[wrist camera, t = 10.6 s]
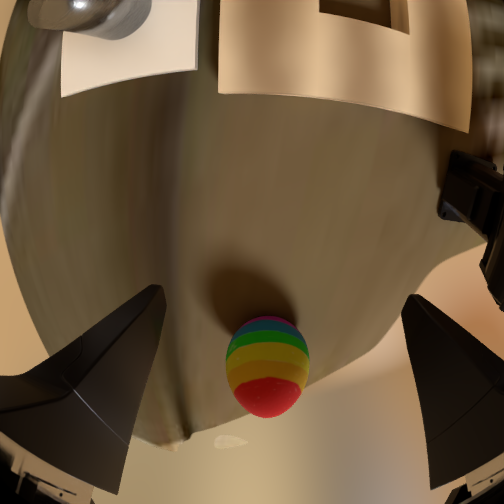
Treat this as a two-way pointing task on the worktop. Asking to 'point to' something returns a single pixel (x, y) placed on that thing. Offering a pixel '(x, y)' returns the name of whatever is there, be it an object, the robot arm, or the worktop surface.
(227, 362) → the decorative egg
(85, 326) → the worktop surface
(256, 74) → the pocket block
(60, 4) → the metal part
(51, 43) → the worktop surface
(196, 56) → the ceramic tile
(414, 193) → the worktop surface
